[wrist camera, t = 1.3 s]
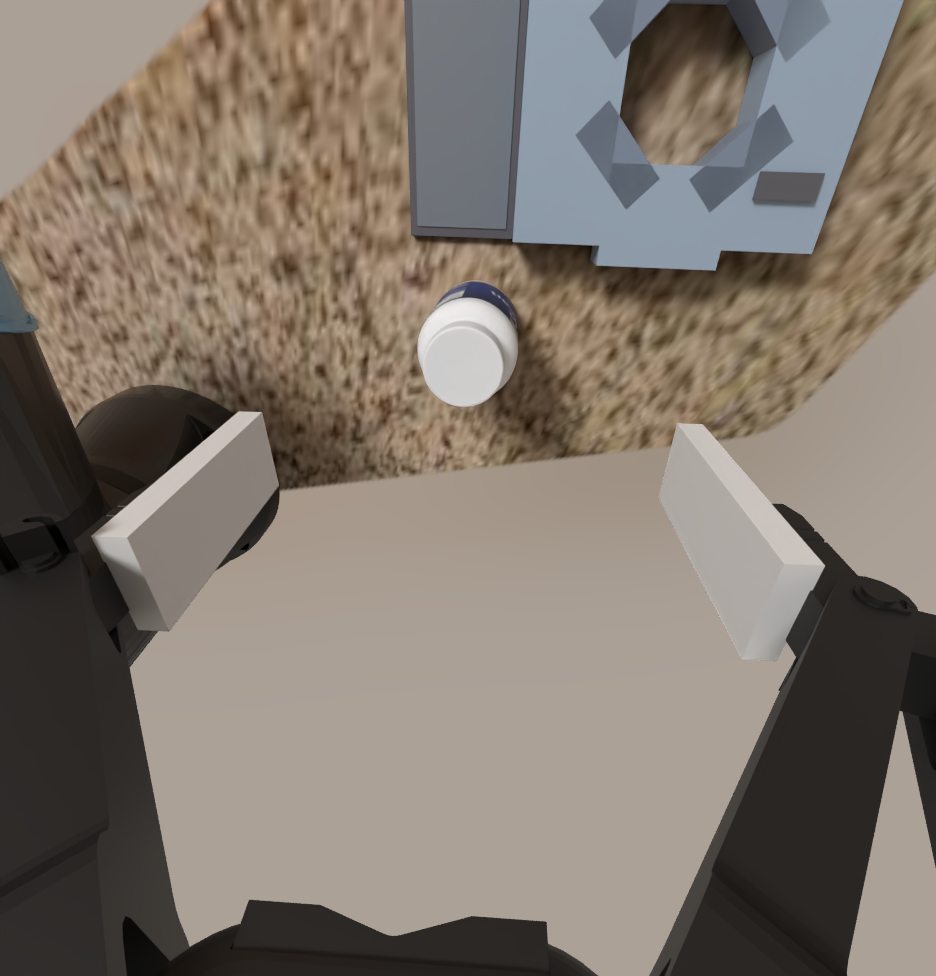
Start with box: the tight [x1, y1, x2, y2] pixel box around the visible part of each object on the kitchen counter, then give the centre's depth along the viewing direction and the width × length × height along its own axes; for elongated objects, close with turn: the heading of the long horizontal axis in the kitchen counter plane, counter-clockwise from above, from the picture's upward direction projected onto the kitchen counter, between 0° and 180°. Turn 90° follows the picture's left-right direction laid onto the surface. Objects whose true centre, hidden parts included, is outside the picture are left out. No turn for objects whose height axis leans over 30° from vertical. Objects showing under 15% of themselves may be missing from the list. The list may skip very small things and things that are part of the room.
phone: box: [404, 0, 528, 239], centre depth 26 cm, size 12×6×1 cm, turn 178°
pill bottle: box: [418, 280, 518, 407], centre depth 27 cm, size 5×5×10 cm
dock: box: [512, 0, 904, 271], centre depth 24 cm, size 16×16×3 cm
